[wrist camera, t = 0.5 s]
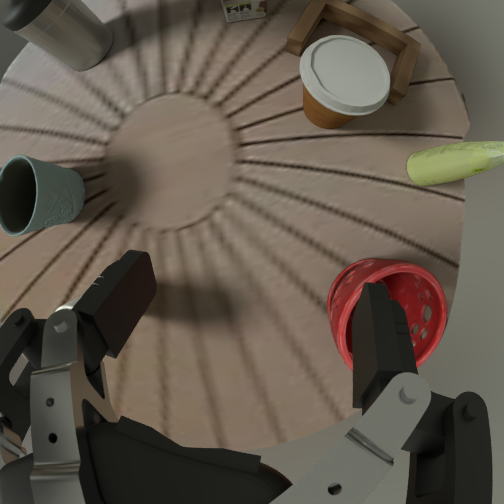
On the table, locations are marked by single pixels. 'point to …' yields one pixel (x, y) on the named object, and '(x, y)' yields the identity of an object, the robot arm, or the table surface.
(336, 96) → the disposable coffee cup
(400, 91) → the dock
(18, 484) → the robot arm
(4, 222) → the teal tapered cup
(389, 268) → the plant pot
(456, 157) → the tube
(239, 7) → the coffee box
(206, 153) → the table surface
